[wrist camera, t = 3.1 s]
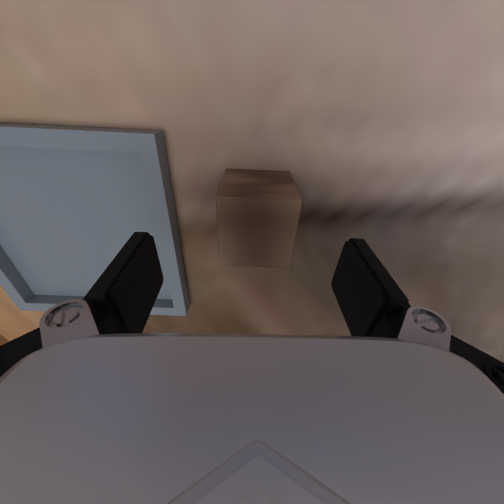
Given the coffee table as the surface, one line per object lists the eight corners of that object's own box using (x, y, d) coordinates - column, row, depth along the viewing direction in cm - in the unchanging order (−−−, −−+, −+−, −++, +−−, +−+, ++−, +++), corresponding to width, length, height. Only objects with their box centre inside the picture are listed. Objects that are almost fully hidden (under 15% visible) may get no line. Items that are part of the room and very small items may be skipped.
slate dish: (162, 130, 17) (154, 133, 15) (190, 303, 27) (186, 315, 25) (-94, 117, 16) (-129, 120, 15) (33, 298, 26) (20, 310, 25)
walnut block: (289, 171, 18) (302, 200, 13) (281, 226, 21) (290, 267, 16) (226, 168, 18) (216, 196, 13) (227, 224, 21) (219, 265, 16)
